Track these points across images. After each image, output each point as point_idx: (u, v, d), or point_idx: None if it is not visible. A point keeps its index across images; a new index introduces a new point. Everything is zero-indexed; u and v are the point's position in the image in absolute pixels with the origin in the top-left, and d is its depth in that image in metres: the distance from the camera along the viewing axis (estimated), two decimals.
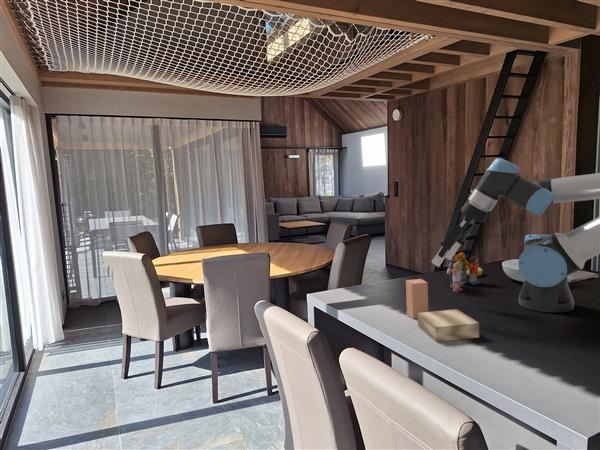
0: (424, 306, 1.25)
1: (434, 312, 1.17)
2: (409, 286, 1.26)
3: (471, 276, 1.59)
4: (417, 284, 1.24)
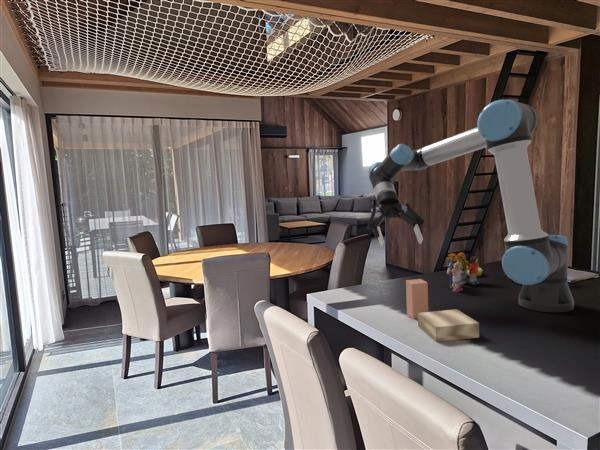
0: (424, 306, 1.24)
1: (434, 312, 1.17)
2: (409, 286, 1.26)
3: (471, 276, 1.59)
4: (417, 284, 1.24)
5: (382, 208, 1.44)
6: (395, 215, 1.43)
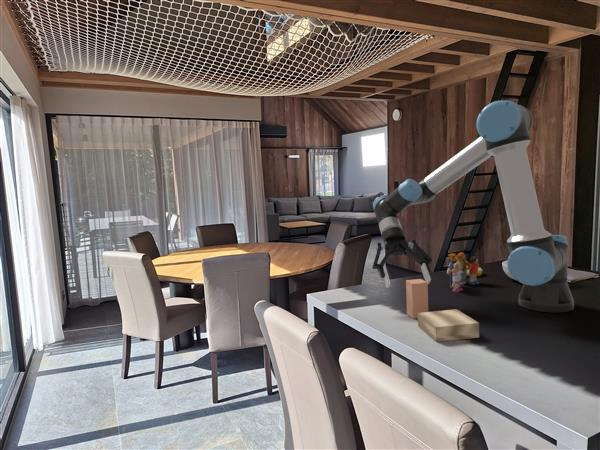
0: (424, 306, 1.25)
1: (434, 312, 1.17)
2: (409, 286, 1.26)
3: (471, 276, 1.59)
4: (417, 284, 1.24)
5: (388, 245, 1.39)
6: (401, 253, 1.38)
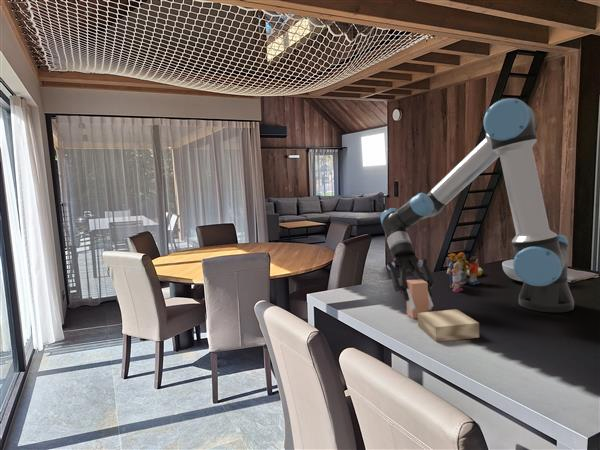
0: (424, 306, 1.25)
1: (434, 312, 1.17)
2: (409, 286, 1.26)
3: (471, 276, 1.59)
4: (417, 284, 1.24)
5: (398, 262, 1.33)
6: (411, 269, 1.32)
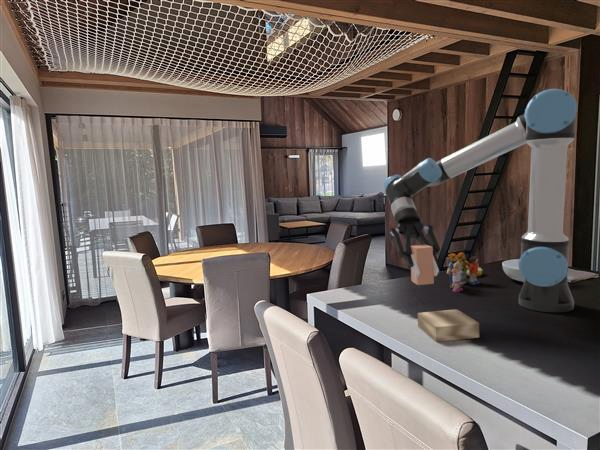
0: (429, 272, 1.19)
1: (434, 312, 1.17)
2: (413, 251, 1.20)
3: (471, 276, 1.59)
4: (422, 248, 1.18)
5: (402, 228, 1.27)
6: (416, 236, 1.26)
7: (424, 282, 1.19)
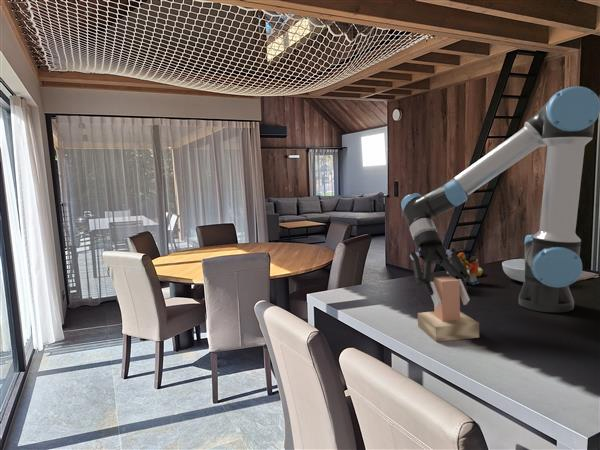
0: (455, 307, 1.09)
1: None
2: (438, 284, 1.11)
3: (471, 276, 1.59)
4: (448, 282, 1.09)
5: (423, 252, 1.17)
6: (439, 261, 1.17)
7: (450, 318, 1.10)
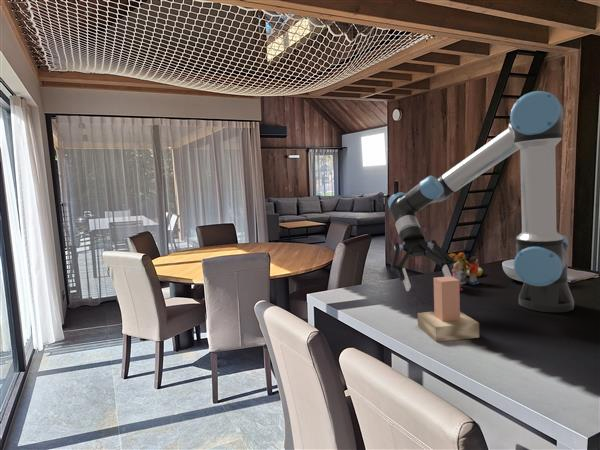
0: (455, 307, 1.09)
1: None
2: (438, 284, 1.11)
3: (471, 276, 1.59)
4: (447, 282, 1.09)
5: (406, 246, 1.30)
6: (421, 254, 1.29)
7: (450, 318, 1.10)
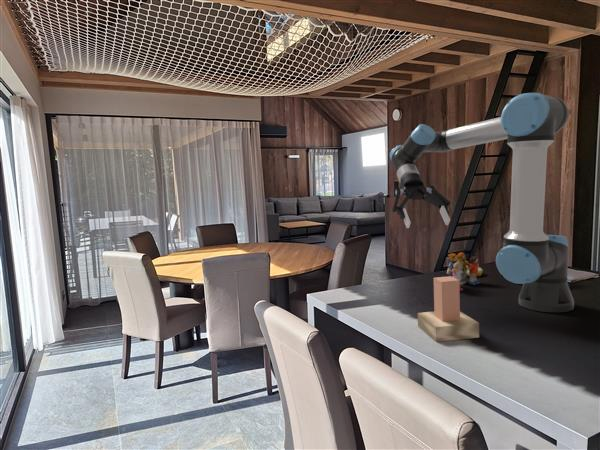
0: (455, 307, 1.09)
1: None
2: (438, 284, 1.11)
3: (471, 276, 1.59)
4: (447, 282, 1.09)
5: (406, 190, 1.41)
6: (420, 197, 1.41)
7: (450, 318, 1.10)
